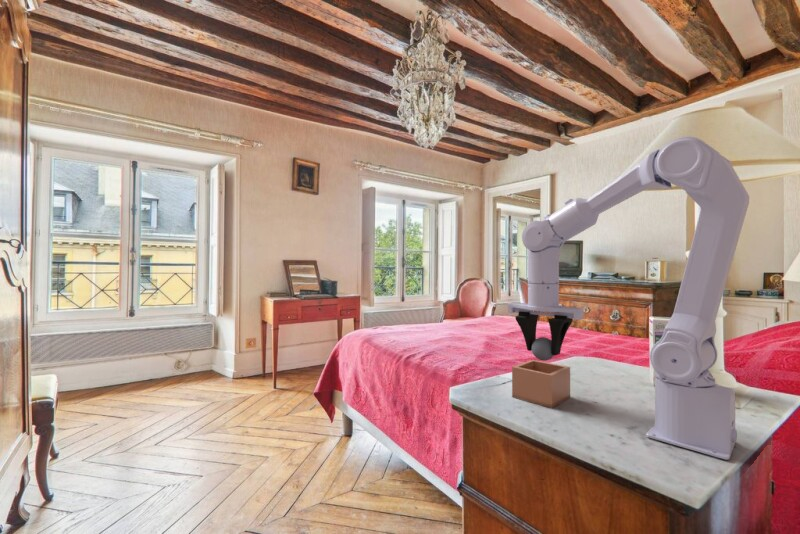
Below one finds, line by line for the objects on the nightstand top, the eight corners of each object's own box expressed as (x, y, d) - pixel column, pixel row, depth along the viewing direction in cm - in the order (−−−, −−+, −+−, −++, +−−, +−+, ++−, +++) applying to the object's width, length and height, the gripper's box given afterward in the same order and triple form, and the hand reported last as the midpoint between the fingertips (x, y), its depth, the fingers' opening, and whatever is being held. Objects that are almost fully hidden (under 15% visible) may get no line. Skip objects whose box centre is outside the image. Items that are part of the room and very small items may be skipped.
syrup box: (652, 386, 80) (652, 318, 80) (649, 378, 85) (649, 315, 85) (685, 390, 77) (685, 320, 77) (680, 382, 82) (680, 316, 82)
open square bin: (570, 397, 73) (570, 367, 73) (551, 408, 68) (551, 375, 68) (532, 387, 79) (532, 359, 79) (512, 397, 74) (512, 366, 74)
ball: (559, 360, 74) (559, 337, 73) (549, 364, 70) (549, 340, 70) (538, 356, 77) (538, 334, 77) (527, 360, 74) (527, 337, 74)
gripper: (589, 283, 71) (589, 355, 71) (520, 281, 82) (520, 343, 82) (574, 285, 66) (574, 361, 66) (502, 282, 77) (502, 348, 77)
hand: (543, 352), depth 74 cm, fingers closed on ball, 4 cm apart
